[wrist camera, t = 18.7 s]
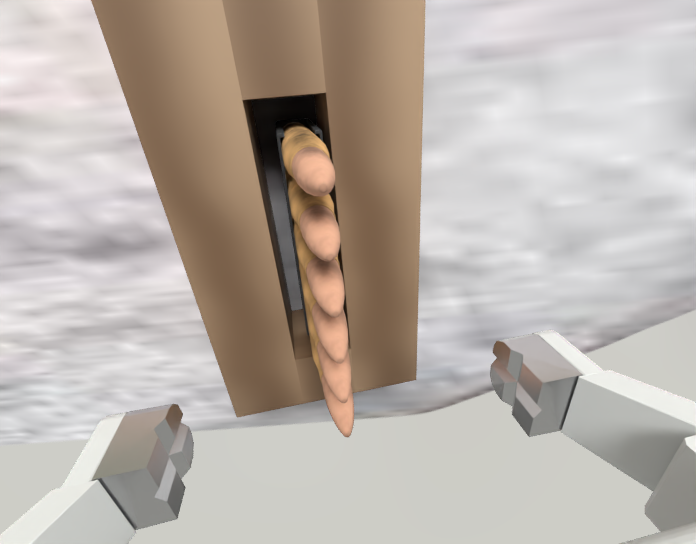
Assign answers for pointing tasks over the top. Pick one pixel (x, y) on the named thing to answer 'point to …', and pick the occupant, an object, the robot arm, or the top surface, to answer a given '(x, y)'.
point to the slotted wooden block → (250, 180)
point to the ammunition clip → (318, 259)
